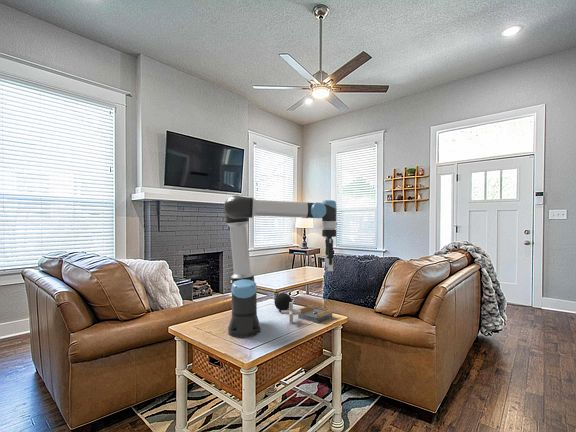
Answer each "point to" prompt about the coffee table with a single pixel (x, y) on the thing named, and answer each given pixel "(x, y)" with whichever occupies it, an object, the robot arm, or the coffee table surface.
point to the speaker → (282, 301)
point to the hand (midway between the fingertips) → (329, 268)
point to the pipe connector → (291, 312)
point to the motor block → (314, 314)
